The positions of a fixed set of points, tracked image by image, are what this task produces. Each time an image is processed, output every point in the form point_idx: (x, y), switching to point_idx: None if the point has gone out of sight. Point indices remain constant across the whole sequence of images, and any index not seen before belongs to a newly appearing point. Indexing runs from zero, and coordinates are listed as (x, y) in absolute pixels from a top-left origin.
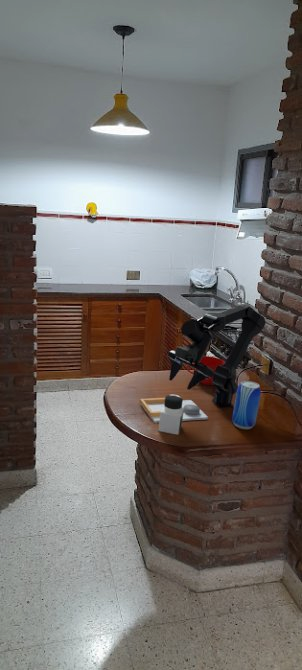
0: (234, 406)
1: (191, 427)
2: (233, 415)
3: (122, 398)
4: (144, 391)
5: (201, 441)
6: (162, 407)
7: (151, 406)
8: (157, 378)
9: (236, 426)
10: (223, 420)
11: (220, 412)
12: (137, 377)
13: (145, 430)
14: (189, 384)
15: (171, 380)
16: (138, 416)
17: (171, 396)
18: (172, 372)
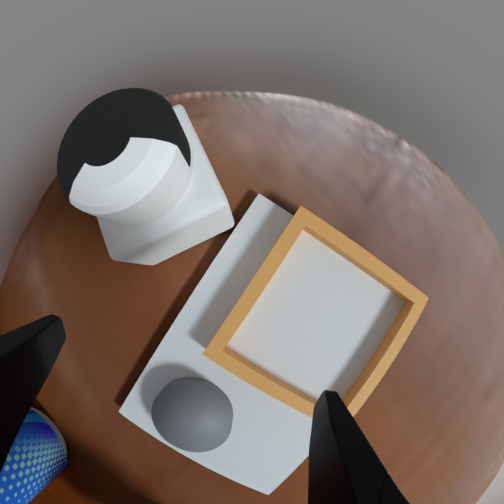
0: (22, 453)
1: (118, 290)
2: (37, 432)
3: (476, 282)
4: (454, 406)
5: (50, 219)
6: (320, 346)
7: (363, 309)
8: (449, 499)
9: (41, 412)
10: (86, 432)
11: (134, 482)
12: (497, 448)
13: (240, 117)
14: (21, 335)
15: (314, 408)
16: (345, 193)
17: (123, 125)
18: (342, 463)
